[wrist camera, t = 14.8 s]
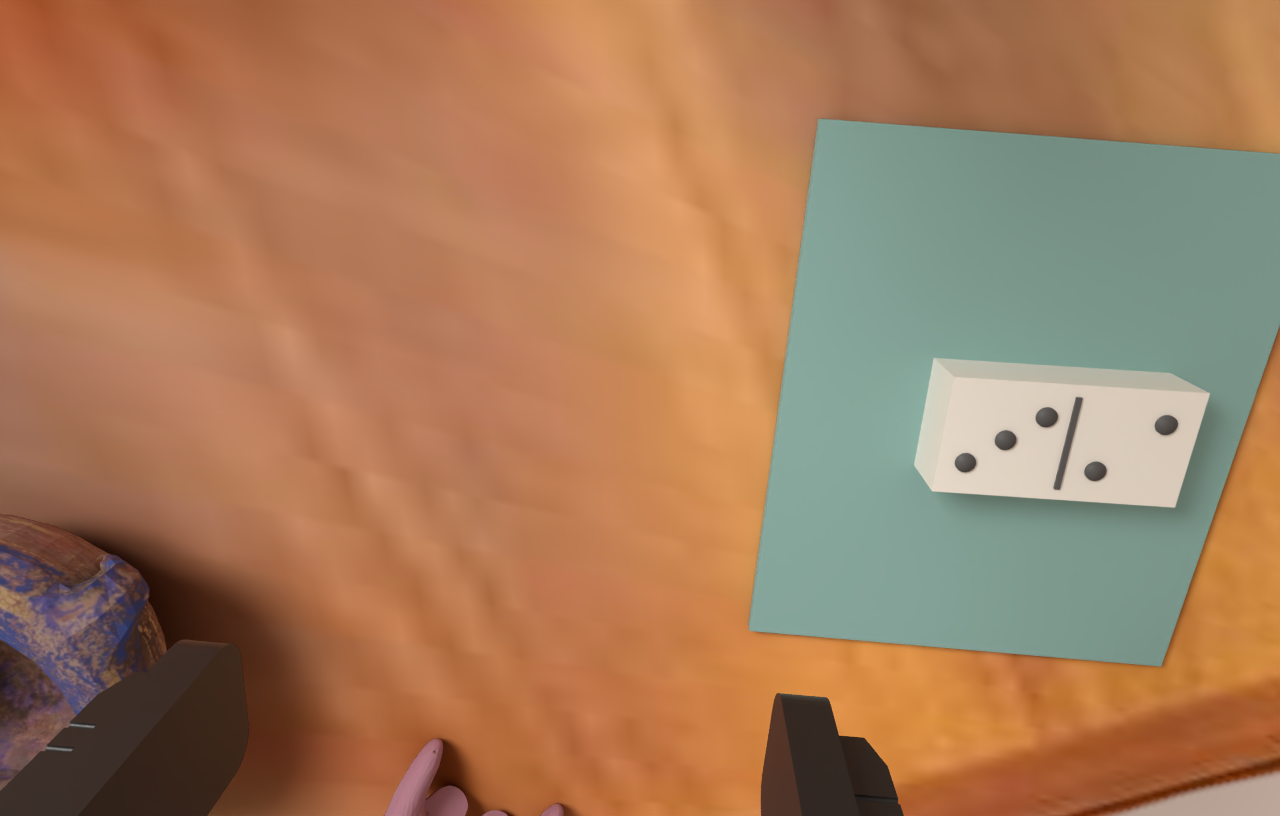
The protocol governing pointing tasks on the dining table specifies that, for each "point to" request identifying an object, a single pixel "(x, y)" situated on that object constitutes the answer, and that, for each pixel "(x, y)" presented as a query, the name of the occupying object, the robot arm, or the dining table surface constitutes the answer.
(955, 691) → the dining table surface
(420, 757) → the video game controller
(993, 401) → the domino
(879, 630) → the mat
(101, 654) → the bowl
